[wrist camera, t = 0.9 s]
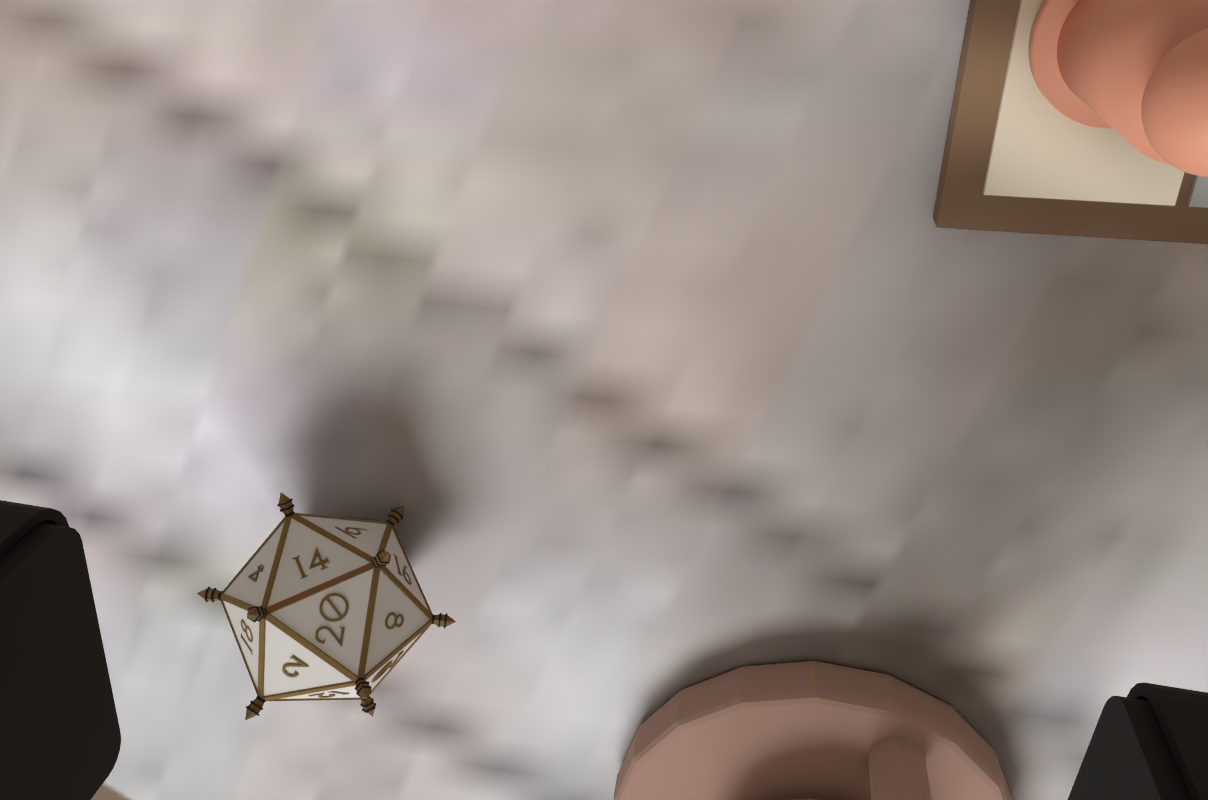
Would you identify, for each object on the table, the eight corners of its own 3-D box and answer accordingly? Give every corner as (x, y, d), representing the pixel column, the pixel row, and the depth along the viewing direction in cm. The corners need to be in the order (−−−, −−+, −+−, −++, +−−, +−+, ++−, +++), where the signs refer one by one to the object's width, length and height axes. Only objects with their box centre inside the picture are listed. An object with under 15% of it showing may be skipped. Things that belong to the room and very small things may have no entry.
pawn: (1048, -58, 29) (1160, -11, 20) (1233, -53, 28) (1429, -3, 20) (1012, 117, 31) (1100, 225, 23) (1183, 125, 30) (1339, 239, 22)
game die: (359, 469, 47) (210, 448, 38) (515, 550, 44) (395, 550, 35) (278, 650, 47) (109, 674, 38) (429, 744, 44) (286, 795, 35)
